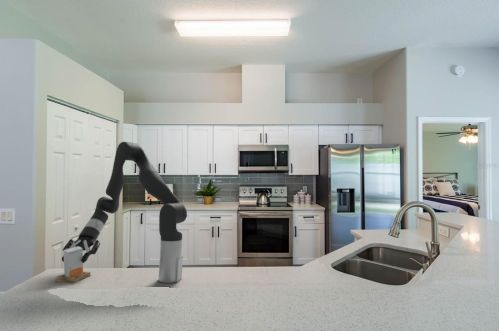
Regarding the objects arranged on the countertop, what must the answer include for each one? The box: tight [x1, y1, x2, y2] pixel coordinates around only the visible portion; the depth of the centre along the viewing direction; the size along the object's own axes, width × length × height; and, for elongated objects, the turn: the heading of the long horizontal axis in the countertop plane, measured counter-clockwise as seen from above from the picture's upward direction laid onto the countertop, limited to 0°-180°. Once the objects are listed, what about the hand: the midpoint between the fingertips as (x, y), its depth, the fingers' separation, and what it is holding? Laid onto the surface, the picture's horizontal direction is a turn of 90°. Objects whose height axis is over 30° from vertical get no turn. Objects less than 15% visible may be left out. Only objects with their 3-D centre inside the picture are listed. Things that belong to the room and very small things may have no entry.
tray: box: [55, 271, 92, 284], centre depth 116 cm, size 9×9×2 cm
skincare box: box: [63, 246, 84, 277], centre depth 116 cm, size 6×4×12 cm
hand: (72, 261), depth 116 cm, fingers open, 8 cm apart
